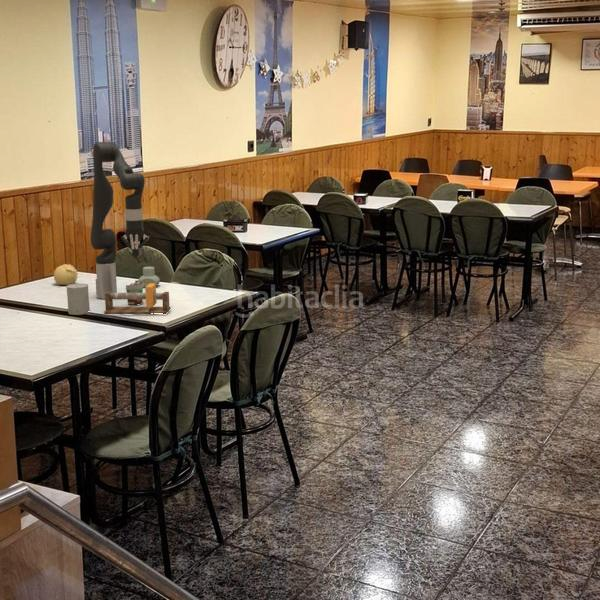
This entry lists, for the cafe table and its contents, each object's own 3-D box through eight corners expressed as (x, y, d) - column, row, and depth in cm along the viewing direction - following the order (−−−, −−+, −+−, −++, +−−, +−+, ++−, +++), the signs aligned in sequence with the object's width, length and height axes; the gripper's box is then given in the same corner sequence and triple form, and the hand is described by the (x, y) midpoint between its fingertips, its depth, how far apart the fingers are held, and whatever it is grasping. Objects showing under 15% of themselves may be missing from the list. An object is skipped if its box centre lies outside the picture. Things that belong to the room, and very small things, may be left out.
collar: (146, 306, 384) (145, 287, 382) (150, 302, 392) (149, 283, 390) (152, 306, 384) (151, 287, 382) (156, 302, 392) (155, 283, 390)
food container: (139, 306, 400) (138, 285, 397) (126, 306, 401) (125, 285, 398) (148, 301, 411) (147, 280, 409) (136, 300, 413) (135, 280, 410)
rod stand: (104, 314, 385) (103, 295, 383) (110, 309, 395) (109, 290, 393) (166, 315, 384) (165, 295, 382) (170, 309, 393) (169, 290, 391)
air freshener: (161, 284, 447) (160, 265, 445) (158, 288, 439) (157, 269, 437) (140, 285, 447) (139, 266, 445) (137, 288, 439) (136, 269, 437)
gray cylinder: (63, 313, 388) (62, 287, 385) (76, 309, 397) (74, 282, 394) (82, 315, 385) (80, 288, 382) (94, 310, 393) (92, 284, 391)
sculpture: (78, 285, 446) (77, 265, 444) (54, 287, 443) (52, 266, 441) (78, 281, 457) (76, 261, 455) (54, 283, 454) (53, 262, 452)
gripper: (150, 217, 385) (152, 255, 389) (121, 217, 385) (123, 255, 390) (147, 220, 377) (148, 258, 381) (117, 219, 378) (119, 258, 382)
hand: (136, 257), depth 385 cm, fingers closed
